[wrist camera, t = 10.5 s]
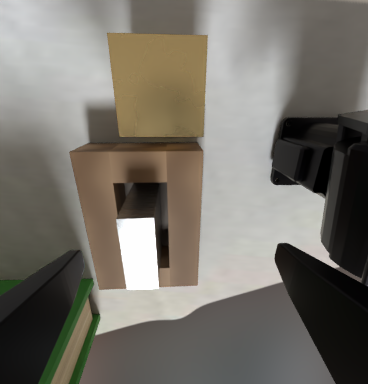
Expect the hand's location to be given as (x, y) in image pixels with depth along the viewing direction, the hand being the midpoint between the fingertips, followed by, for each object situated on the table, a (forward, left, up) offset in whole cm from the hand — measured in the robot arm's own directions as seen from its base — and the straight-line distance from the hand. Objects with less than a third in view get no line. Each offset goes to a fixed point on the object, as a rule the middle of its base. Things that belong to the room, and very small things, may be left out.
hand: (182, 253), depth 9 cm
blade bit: (+3, +4, -12) cm, 13 cm away
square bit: (+1, -7, -12) cm, 14 cm away
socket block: (+3, +4, -12) cm, 13 cm away
